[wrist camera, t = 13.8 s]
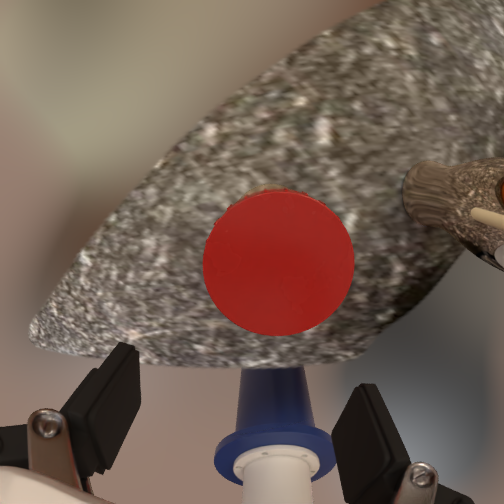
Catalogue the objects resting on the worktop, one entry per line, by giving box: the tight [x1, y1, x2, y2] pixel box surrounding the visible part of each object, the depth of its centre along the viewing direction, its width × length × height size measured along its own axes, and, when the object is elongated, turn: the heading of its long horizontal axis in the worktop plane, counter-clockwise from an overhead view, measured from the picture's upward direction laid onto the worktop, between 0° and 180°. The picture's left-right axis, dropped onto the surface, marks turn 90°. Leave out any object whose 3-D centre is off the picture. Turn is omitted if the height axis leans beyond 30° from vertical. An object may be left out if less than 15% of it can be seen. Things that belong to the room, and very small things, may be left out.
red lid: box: [203, 187, 354, 336], centre depth 14 cm, size 7×7×2 cm
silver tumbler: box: [402, 157, 504, 272], centre depth 15 cm, size 7×7×15 cm
